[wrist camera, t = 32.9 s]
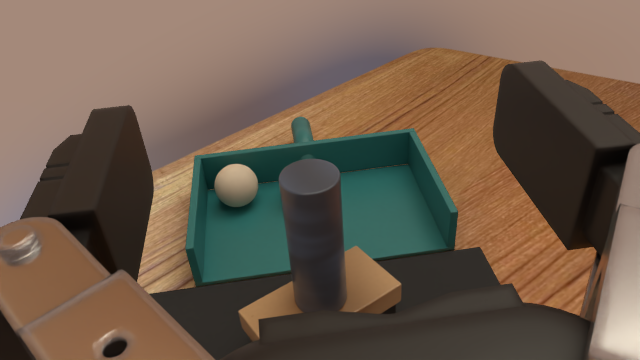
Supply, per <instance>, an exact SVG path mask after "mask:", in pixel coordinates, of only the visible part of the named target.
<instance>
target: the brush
mask: <svg viewBox="0 0 640 360" xmlns="http://www.w3.org/2000/svg"><path fill="white" fill-rule="evenodd" d="M279 187H280V194H281V202H282V209H283V216H284V224H285V231H286V238H287V246H288V253H289V260H290V268H291V275H292V281H291V282H289V283H288V284H286V285H284V286H282V287H280V288H279V289H277V290H275V291H273V292H271V293H270V294H268V295H266V296H264V297H262V298H260V299H259V300H257V301H255V302H253V303H251V304H250V305H248V306H246V307H244V308H242V309H241V310H239V311H238V312H239V317H240V321H241V325H242V328H243V330H244V331H245V332H246V334H247V335H248V336H249V340H250V343H251V342H253V341H256V340H258V339H259V322H258V319H263V318H270V317H277V316H284V315H291V314H298V313H305V312H313V311H320V310H328V311H343V312H359V313H374V314H393V313H396V304H397V303H398V302H400V301H401V283H400V282H399V281H397V280H396V279H395V278H394V277H393V276H392V275H390V274H389V273H388V272H387V271H386V270H385V269H383V268H382V267H381V266H380V265H379V264H377V263H376V262H375V261H374V260H373V259H372V258H370V257H369V256H368V255H367V254H366V253H365V252H363V251H362V250H361V249H360V248H359V247H357V246H355V247H353V248H351V249H349V250H347V251H346V252H345V249H344V231H343V213H342V194H341V176H340V171H339V170H338V168H337V167H336V166H335V165H334V164H332V163H330V162H328V161H325V160H321V159H305V160H300V161H296V162H294V163H292V164H290V165H288V166H286V167H285V168H284V169H283V170H282V171H281V173H280V175H279Z"/></svg>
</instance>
